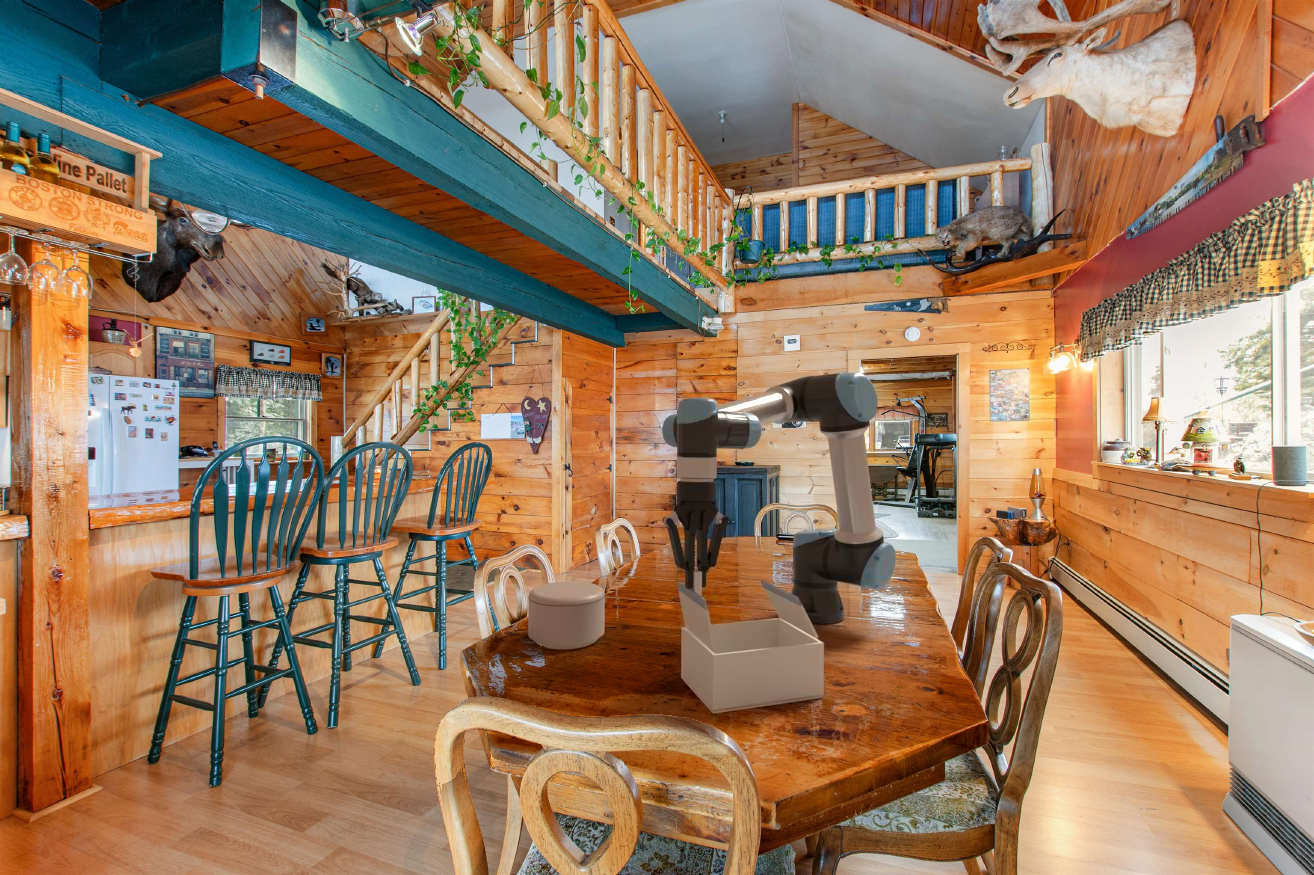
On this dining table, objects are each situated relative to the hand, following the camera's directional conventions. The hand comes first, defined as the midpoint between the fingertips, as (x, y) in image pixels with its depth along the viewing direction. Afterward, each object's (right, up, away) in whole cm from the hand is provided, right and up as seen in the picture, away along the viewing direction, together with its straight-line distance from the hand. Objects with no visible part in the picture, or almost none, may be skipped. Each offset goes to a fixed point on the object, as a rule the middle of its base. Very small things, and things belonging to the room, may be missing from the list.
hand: (695, 604), depth 111 cm
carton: (+10, -16, +1) cm, 19 cm away
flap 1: (0, -1, -2) cm, 2 cm away
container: (-29, -16, +29) cm, 44 cm away
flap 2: (+18, -2, +4) cm, 19 cm away
